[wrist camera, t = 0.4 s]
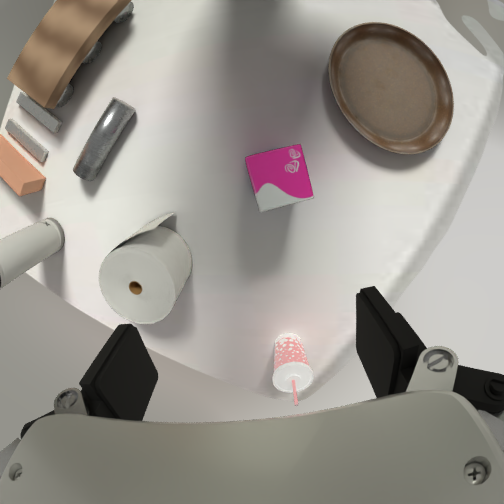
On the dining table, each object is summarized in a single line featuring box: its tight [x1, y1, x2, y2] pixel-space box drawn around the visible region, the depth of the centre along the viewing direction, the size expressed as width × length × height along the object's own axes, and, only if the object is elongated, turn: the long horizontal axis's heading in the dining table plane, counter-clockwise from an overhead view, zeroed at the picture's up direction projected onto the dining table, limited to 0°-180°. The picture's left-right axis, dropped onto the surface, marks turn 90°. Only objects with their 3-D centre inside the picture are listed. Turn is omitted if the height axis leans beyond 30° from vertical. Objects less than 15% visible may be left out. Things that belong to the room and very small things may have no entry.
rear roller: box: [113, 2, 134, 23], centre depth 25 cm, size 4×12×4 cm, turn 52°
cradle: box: [5, 92, 62, 162], centre depth 33 cm, size 8×14×1 cm, turn 52°
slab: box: [7, 0, 131, 109], centre depth 24 cm, size 20×14×2 cm
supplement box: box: [245, 144, 314, 212], centre depth 32 cm, size 6×6×12 cm
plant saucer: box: [328, 22, 454, 154], centre depth 31 cm, size 21×21×3 cm
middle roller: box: [83, 41, 101, 64], centre depth 27 cm, size 4×12×4 cm, turn 52°
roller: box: [73, 97, 135, 181], centre depth 34 cm, size 12×4×4 cm, turn 142°
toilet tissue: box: [99, 212, 192, 324], centre depth 37 cm, size 11×12×10 cm
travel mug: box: [0, 218, 64, 289], centre depth 31 cm, size 6×7×20 cm
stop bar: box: [0, 134, 46, 196], centre depth 33 cm, size 2×18×6 cm, turn 52°
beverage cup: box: [272, 333, 313, 406], centre depth 40 cm, size 6×6×14 cm
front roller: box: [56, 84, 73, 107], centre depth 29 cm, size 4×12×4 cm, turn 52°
